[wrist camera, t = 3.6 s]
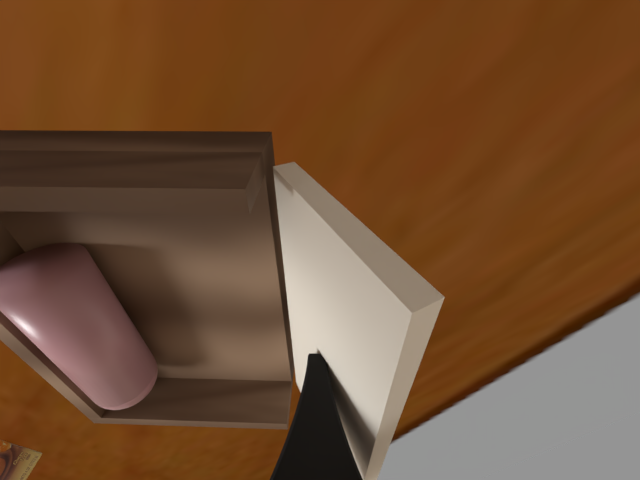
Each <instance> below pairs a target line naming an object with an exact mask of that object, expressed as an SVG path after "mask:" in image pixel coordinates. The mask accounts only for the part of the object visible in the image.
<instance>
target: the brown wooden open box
mask: <svg viewBox="0 0 640 480" xmlns="http://www.w3.org/2000/svg"><path fill="white" fill-rule="evenodd" d="M273 166H275V159H274V150H273V140H272V132H244V131H61V130H0V266H2V265H3V264H5V263H6V262H8V261H9V260H11V259H13V258H14V257H16V256H18V255H20V254H23V253H25V252H27V251H30V250H32V249H35V248H38V247H42V246H45V245H50V244H56V243H76V244H80V245H82V246H84V247H85V248H86V249H87V251H88V252H89V254H90V256H91V257H92V259H93V260H94V262H95V264H96V265H97V267H98V268H99V270H100V272H101V273H102V275H103V276H104V278H105V280H106V281H107V283H108V284H109V286H110V288H111V289H112V291H113V292H114V294H115V296H116V297H117V299H118V300H119V302H120V303H121V305H122V307H123V308H124V310H125V311H126V313H127V315H128V316H129V318H130V319H131V321H132V323H133V324H134V326H135V327H136V329H137V331H138V332H139V334H140V335H141V337H142V339H143V340H144V342H145V343H146V345H147V347H148V348H149V350H150V351H151V353H152V355H153V356H154V358H155V360H156V363H157V369H158V374H157V379H156V381H155V384H154V386H153V388H152V390H151V391H150V392H149V394H148V395H147V396H146V397H145V398H144V399H143V400H141V401H140V402H139V403H137V404H135V405H134V406H131V407H129V408H125V409H121V410H109V409H104V408H102V407H100V406H98V405H97V404H95V403H94V402H93V401H92V400H91V399H90V398H89V397H88V396H87V395H86V394H85V393H84V392H83V391H82V390H81V389H80V388H79V387H78V386H77V385H76V384H75V383H74V382H73V381H72V380H71V379H70V378H69V377H68V376H66V375H65V374H64V373H63V372H62V371H61V370H60V369H59V368H58V367H57V366H56V365H55V364H54V363H53V362H52V361H51V360H50V359H49V358H48V357H47V356H46V355H45V354H44V353H43V352H42V351H41V350H40V349H39V348H38V347H37V346H36V345H35V344H34V343H33V342H32V341H31V340H30V339H29V338H28V337H27V336H26V335H25V334H24V333H22V332H21V331H20V330H19V329H18V328H17V327H16V326H15V325H14V324H13V323H12V322H11V321H10V320H9V319H8V318H7V317H6V316H5V315H4V314H3V313H2V312H1V311H0V340H1V341H2V342H3V343H4V344H5V345H7V346H8V347H9V348H10V349H11V350H12V351H13V352H14V353H16V354H17V355H18V356H19V357H20V358H21V359H22V360H23V361H25V362H26V363H27V364H28V365H29V366H30V367H31V368H32V369H34V370H35V371H36V372H37V373H38V374H39V375H40V376H41V377H43V378H44V379H45V380H46V381H47V382H48V383H49V384H50V385H52V386H53V387H54V388H55V389H56V390H57V391H58V392H60V393H61V394H62V395H63V396H64V397H65V398H66V399H67V400H69V401H70V402H71V403H72V404H73V405H74V406H75V407H76V408H78V409H79V410H80V411H81V412H82V413H83V414H84V415H85V416H87V417H88V418H89V419H90V420H91V421H92V422H93V423H103V424H133V425H164V426H195V427H226V428H256V429H287V430H288V423H289V413H290V403H291V394H292V384H293V374H294V358H293V349H292V339H291V330H290V321H289V312H288V302H287V293H286V284H285V275H284V265H283V256H282V247H281V238H280V229H279V219H278V210H277V201H276V192H275V182H274V173H273Z"/></svg>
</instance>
